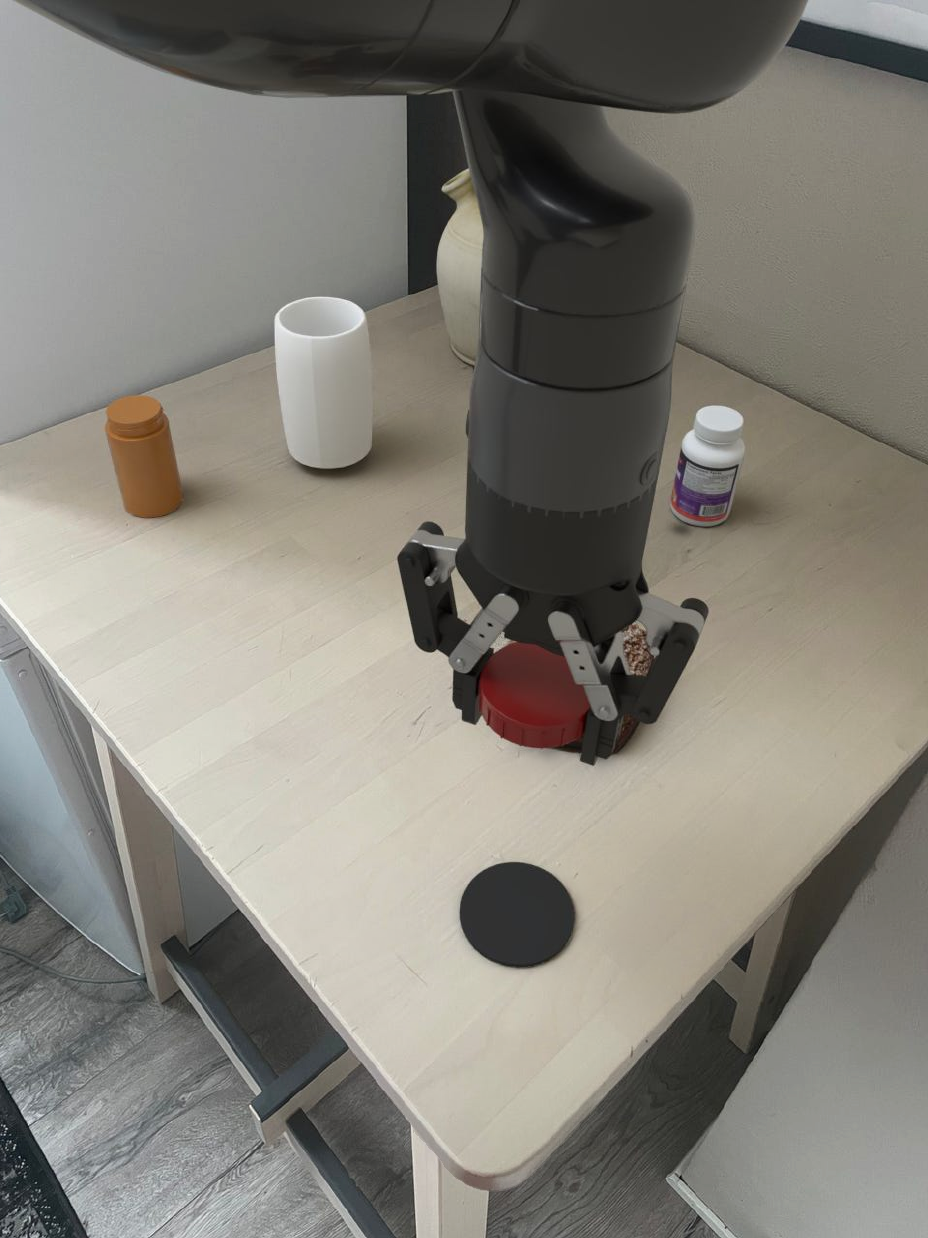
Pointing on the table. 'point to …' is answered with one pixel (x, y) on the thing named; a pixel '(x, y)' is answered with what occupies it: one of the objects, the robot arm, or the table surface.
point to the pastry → (638, 665)
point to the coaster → (517, 914)
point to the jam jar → (143, 456)
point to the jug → (461, 268)
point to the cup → (324, 381)
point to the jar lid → (532, 697)
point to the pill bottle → (708, 467)
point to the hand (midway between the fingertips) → (533, 730)
